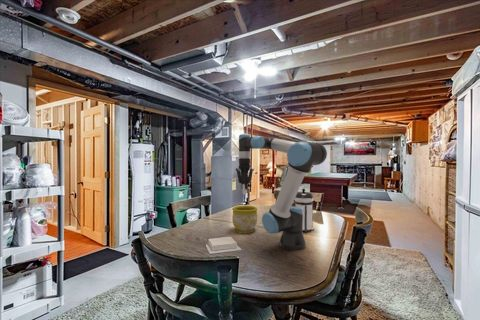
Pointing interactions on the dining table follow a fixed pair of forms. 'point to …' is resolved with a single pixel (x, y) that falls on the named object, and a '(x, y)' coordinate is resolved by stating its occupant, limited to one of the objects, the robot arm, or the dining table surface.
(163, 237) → the dining table surface
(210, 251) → the mat
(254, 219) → the flowerpot
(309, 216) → the coffee press
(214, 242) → the tile
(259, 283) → the dining table surface
